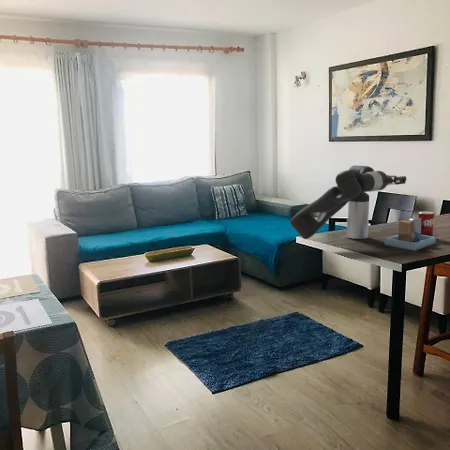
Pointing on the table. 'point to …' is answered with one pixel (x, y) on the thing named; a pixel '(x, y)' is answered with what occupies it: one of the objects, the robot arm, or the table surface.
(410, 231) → the brown rectangular block
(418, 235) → the metal cylinder
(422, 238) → the tote
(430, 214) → the soda can
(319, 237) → the table surface
